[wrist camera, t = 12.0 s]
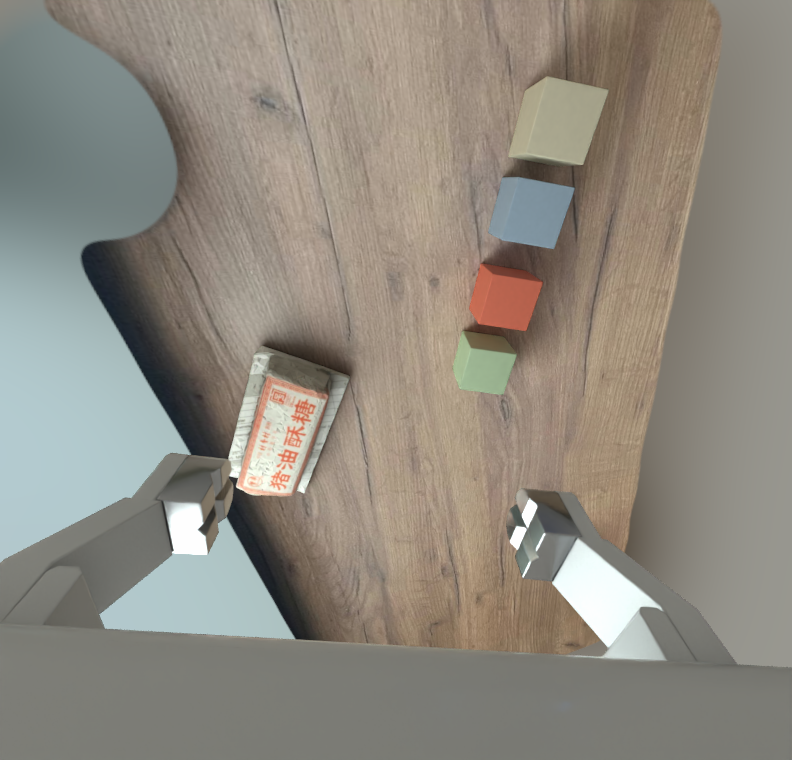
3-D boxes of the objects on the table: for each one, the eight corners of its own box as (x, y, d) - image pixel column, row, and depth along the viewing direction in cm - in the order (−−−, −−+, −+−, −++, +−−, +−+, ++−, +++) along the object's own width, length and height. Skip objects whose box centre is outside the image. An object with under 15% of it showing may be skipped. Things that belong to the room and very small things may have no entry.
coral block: (480, 263, 35) (492, 273, 31) (526, 270, 35) (543, 282, 31) (468, 308, 37) (478, 324, 33) (511, 315, 37) (526, 331, 33)
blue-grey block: (502, 177, 31) (518, 176, 27) (552, 186, 32) (575, 187, 28) (487, 232, 34) (501, 240, 30) (534, 241, 34) (554, 249, 30)
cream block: (525, 89, 29) (547, 75, 25) (579, 101, 29) (610, 89, 25) (507, 156, 31) (525, 153, 27) (558, 166, 31) (583, 164, 27)
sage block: (462, 330, 38) (470, 347, 34) (504, 336, 38) (517, 354, 34) (452, 368, 40) (459, 389, 36) (491, 374, 40) (503, 395, 37)
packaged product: (243, 361, 34) (347, 395, 36) (259, 341, 38) (351, 372, 40) (212, 495, 42) (298, 517, 44) (228, 466, 46) (306, 487, 48)
